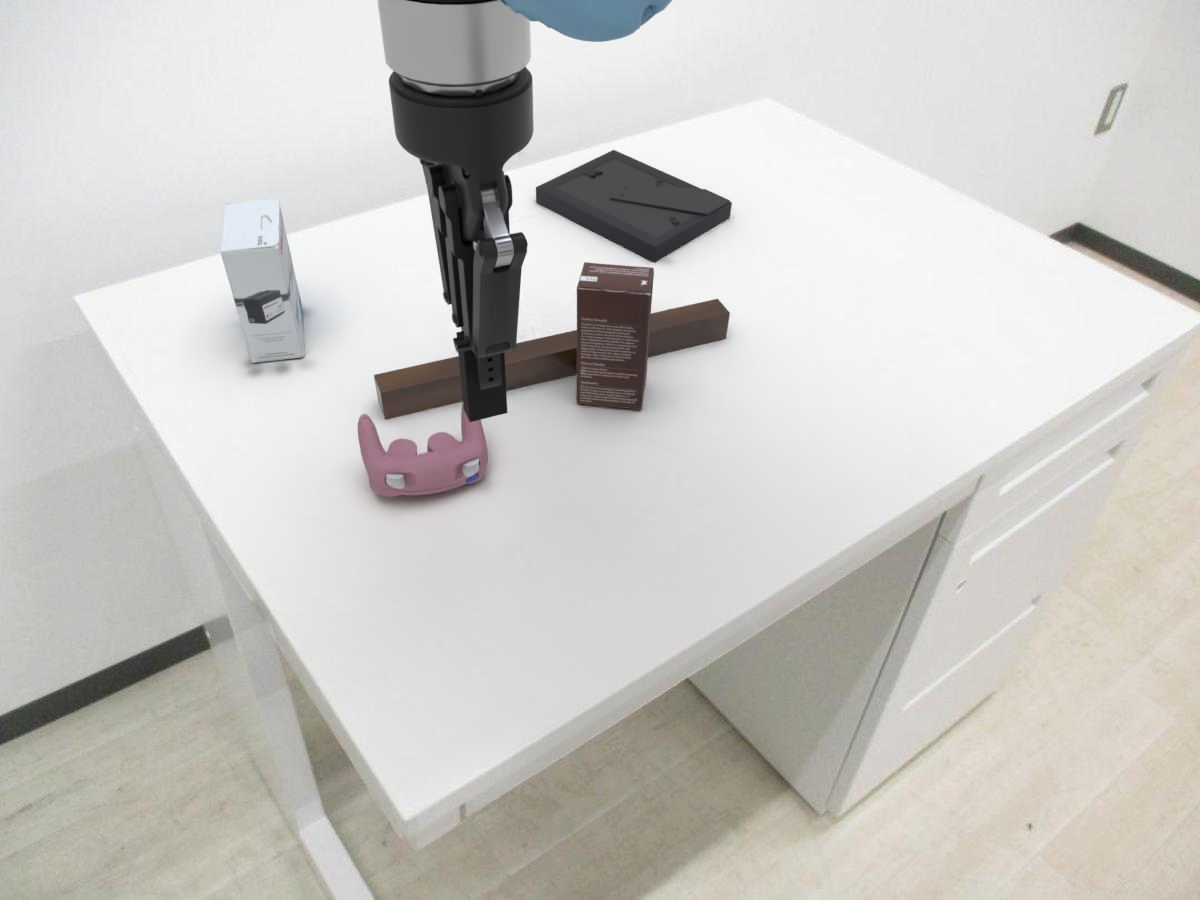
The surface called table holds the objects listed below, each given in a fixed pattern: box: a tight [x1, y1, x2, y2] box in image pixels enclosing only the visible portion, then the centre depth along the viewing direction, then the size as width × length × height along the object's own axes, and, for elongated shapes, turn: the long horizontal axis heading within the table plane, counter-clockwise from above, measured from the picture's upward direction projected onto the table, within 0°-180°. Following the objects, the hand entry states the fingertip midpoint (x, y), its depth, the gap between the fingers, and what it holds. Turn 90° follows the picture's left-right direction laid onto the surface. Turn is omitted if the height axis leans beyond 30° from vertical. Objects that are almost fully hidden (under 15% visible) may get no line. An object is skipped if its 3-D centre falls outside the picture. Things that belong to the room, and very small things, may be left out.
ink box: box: [219, 198, 306, 363], centre depth 85 cm, size 8×5×12 cm, turn 13°
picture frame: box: [535, 149, 733, 263], centre depth 107 cm, size 13×2×18 cm
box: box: [575, 261, 655, 411], centre depth 80 cm, size 6×4×12 cm
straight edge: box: [373, 298, 731, 420], centre depth 85 cm, size 2×33×3 cm, turn 113°
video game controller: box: [357, 405, 489, 498], centre depth 75 cm, size 10×5×7 cm
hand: (485, 410), depth 66 cm, fingers closed
